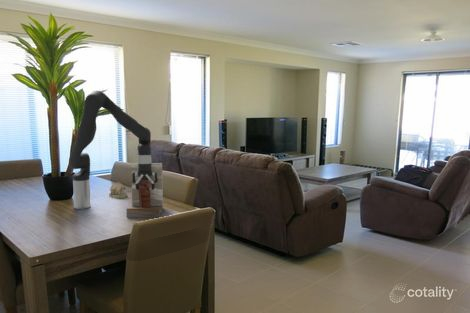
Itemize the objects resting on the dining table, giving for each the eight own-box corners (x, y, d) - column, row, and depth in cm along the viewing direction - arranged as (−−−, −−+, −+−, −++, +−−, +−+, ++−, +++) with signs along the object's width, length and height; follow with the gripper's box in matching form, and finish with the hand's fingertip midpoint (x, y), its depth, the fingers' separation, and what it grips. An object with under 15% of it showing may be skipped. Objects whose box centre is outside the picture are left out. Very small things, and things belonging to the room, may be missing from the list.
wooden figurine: (151, 211, 208) (151, 180, 206) (140, 212, 206) (139, 181, 203) (149, 206, 219) (148, 176, 217) (138, 206, 217) (137, 177, 214)
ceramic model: (105, 196, 249) (105, 181, 248) (119, 193, 258) (118, 179, 257) (118, 199, 241) (117, 184, 240) (131, 196, 250) (131, 182, 249)
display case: (132, 208, 220) (131, 163, 216) (162, 208, 222) (162, 163, 218) (126, 217, 203) (125, 168, 199) (159, 217, 204) (158, 168, 200)
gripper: (130, 163, 204) (131, 191, 207) (156, 163, 206) (156, 191, 208) (133, 161, 212) (134, 188, 214) (158, 161, 213) (158, 188, 215)
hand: (145, 189), depth 211 cm, fingers open, 8 cm apart
